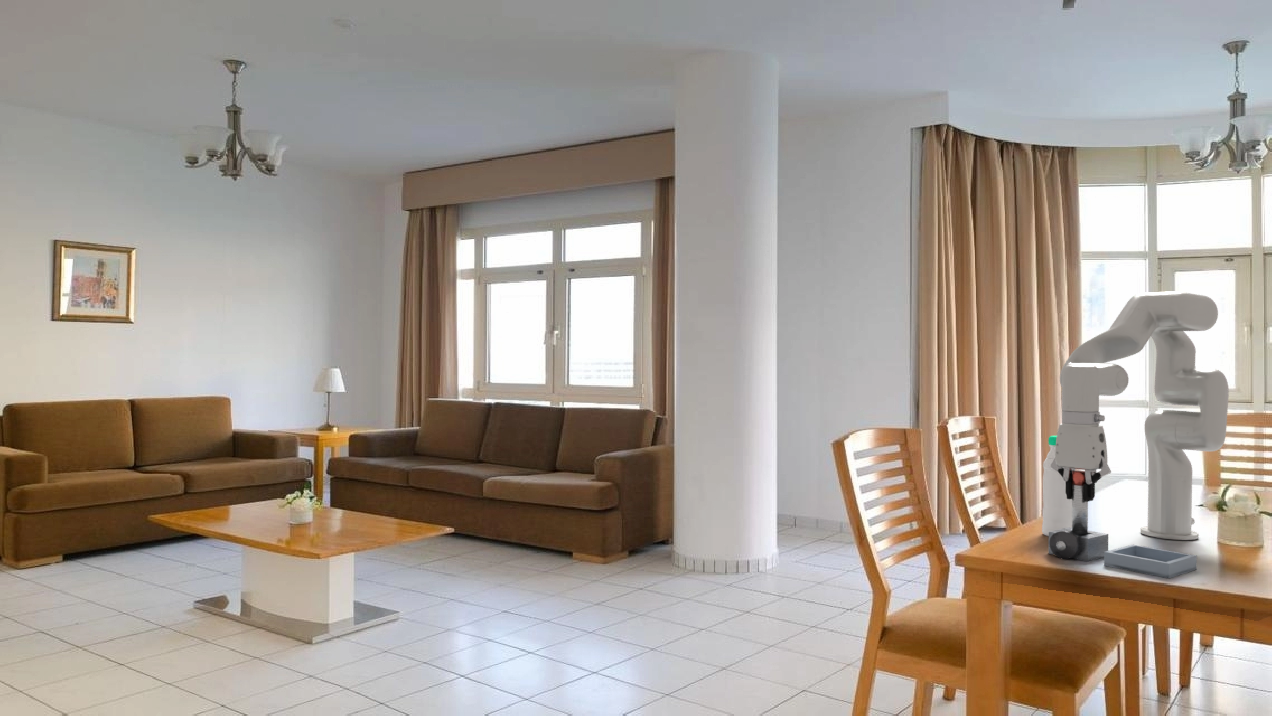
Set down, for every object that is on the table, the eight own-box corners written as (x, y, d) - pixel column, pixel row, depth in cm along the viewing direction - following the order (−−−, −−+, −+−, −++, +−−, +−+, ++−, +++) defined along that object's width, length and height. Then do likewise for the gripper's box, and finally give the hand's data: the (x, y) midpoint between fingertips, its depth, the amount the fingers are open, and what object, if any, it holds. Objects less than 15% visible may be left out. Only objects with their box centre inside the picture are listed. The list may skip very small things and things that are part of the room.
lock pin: (1076, 530, 205) (1076, 470, 205) (1090, 533, 203) (1090, 471, 202) (1069, 532, 203) (1069, 471, 203) (1083, 535, 201) (1083, 473, 200)
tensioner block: (1068, 548, 209) (1069, 523, 209) (1108, 556, 202) (1108, 529, 202) (1040, 555, 202) (1041, 528, 202) (1080, 563, 194) (1080, 535, 194)
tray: (1132, 557, 200) (1133, 544, 200) (1196, 569, 190) (1196, 555, 190) (1104, 565, 193) (1104, 551, 192) (1168, 578, 182) (1168, 563, 182)
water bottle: (1076, 539, 220) (1078, 437, 220) (1046, 537, 221) (1047, 437, 221) (1068, 533, 227) (1070, 435, 226) (1039, 532, 228) (1040, 434, 228)
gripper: (1125, 420, 198) (1125, 503, 198) (1053, 415, 211) (1053, 493, 212) (1109, 422, 194) (1108, 506, 194) (1036, 417, 207) (1036, 496, 207)
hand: (1080, 498), depth 203 cm, fingers closed on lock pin, 3 cm apart
